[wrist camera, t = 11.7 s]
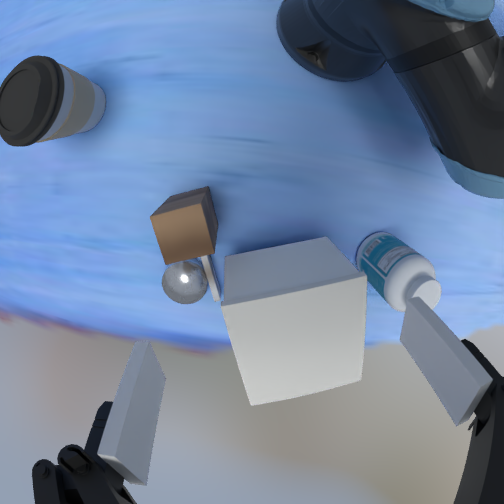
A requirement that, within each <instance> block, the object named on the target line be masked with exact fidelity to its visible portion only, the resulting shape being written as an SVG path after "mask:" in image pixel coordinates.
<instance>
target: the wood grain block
mask: <svg viewBox="0 0 504 504" xmlns="http://www.w3.org/2000/svg"><path fill="white" fill-rule="evenodd" d="M150 219H151V222H152V225H153V229H154V232H155V235H156V238H157V241H158V244H159V247H160V250H161V253H162V255H163V258H164V261H165V264H166V265H168V264H172V263H176V262H180V261H185V260H189V259H193V258H197V257H201V260H202V263H203V266H204V270H205V273H206V276H207V279H208V282H209V285H210V289H211V292H212V295H213V298H214V301H215V302H216V301H220V300H221V290H220V287H219V283H218V280H217V277H216V273H215V270H214V267H213V263H212V260H211V257H210V254H215V246H216V237H217V229H218V222H217V218H216V214H215V210H214V206H213V202H212V199H211V195H210V191H209V187H204V188H200V189H196V190H192V191H188V192H184V193H181V194H177V195H173V196H170V197H169V198H168V199H167V200H166V201H165V202H164V203H163V204H162V205H161V206H160V207H159V208H158V209H157V210H156V211H155V212H154V213H153V214H152V215H151V216H150Z"/></svg>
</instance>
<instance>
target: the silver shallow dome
mask: <svg viewBox="0 0 504 504" xmlns="http://www.w3.org/2000/svg"><path fill="white" fill-rule="evenodd" d="M207 283H208V279H207V276H206V273H205V270H204V266H203V264H202V263H201V262H200V261H198V260H197V259H195V258H193V259H189V260H185V261H180V262H176V263H172V264H168V266H167V268H166V270H165V273H164V275H163V278H162V287H163V289H164V292H165V293H166V295H167V296H168V297H169V298H170V299H172V300H173V301H175V302H178V303H181V304H191V303H195V302H197V301H199V300H200V299H201V298H202V297H203V296H204V294H205V293H206V289H207Z"/></svg>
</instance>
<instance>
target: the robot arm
mask: <svg viewBox="0 0 504 504" xmlns="http://www.w3.org/2000/svg"><path fill="white" fill-rule="evenodd" d="M493 9H494V0H283V2H282V4H281V6H280V9H279V11H278V14H277V31H278V35H279V38H280V40H281V42H282V44H283V46H284V48H285V49H286V51H287V52H288V53H289V54H290V56H291V57H292V58H293V59H294V60H295V61H296V62H297V63H299V64H300V65H301V66H303V67H304V68H305V69H307V70H308V71H310V72H312V73H314V74H316V75H318V76H321V77H324V78H327V79H331V80H336V81H353V80H358V79H361V78H363V77H366V76H369V75H371V74H373V73H375V72H376V71H377V70H379V69H380V68H381V67H382V66H383V65H384V64H385V62H386V61H387V62H388V63H389V65H390V66H391V68H392V69H393V71H394V73H395V75H396V76H397V78H398V79H399V81H400V83H401V84H402V86H403V87H404V89H405V91H406V92H407V94H408V96H409V97H410V99H411V101H412V103H413V104H414V106H415V108H416V110H417V112H418V114H419V115H420V117H421V119H422V121H423V123H424V125H425V127H426V130H427V132H428V134H429V136H430V140H431V143H432V146H433V148H434V149H435V151H436V152H437V153H438V154H439V156H440V158H441V160H442V162H443V164H444V166H445V168H446V170H447V172H448V174H449V175H450V177H451V178H452V179H453V180H454V181H455V182H456V183H457V184H459V185H461V186H462V187H463V188H464V189H465V190H467V191H469V192H471V193H474V194H476V195H480V196H483V197H488V198H497V199H504V36H502V37H499V36H498V34H497V33H496V31H495V29H494V27H493V26H492V24H491V22H490V20H489V19H488V17H489V16H490V14H491V13H492V11H493ZM400 341H401V342H402V344H403V345H404V347H405V348H406V349H407V351H408V352H409V354H410V355H411V356H412V358H413V359H414V361H415V363H416V364H417V365H418V367H419V368H420V370H421V371H422V373H423V374H424V376H425V377H426V379H427V380H428V382H429V384H430V385H431V387H432V388H433V389H434V391H435V393H436V394H437V396H438V397H439V399H440V401H441V402H442V404H443V405H444V407H445V409H446V410H447V412H448V414H449V415H450V417H451V418H452V420H453V422H454V423H455V425H456V426H458V425H460V424H461V423H463V422H465V421H467V420H468V419H469V418H470V416H471V415H472V414H473V412H474V413H475V414H476V417H475V419H474V420H473V422H472V423H471V424H470V426H469V428H468V430H470V429H471V428H472V426H473V431H472V437H471V442H470V447H469V451H468V456H467V460H466V464H465V468H464V472H463V475H462V479H461V482H460V485H459V489H458V492H457V495H456V498H455V501H454V504H504V377H502V376H501V375H500V374H499V373H498V372H497V370H496V369H495V368H494V367H493V366H492V365H491V363H490V362H489V361H488V360H487V359H486V358H485V357H484V355H483V354H482V353H481V352H480V351H479V349H478V348H477V347H476V346H475V345H474V344H473V343H471V342H470V341H468V340H466V339H464V340H461V341H460V340H459V339H458V338H457V336H456V335H455V334H454V333H453V332H452V331H451V330H450V329H449V328H448V326H447V325H446V324H445V323H444V322H443V321H442V320H441V319H440V318H439V317H438V316H437V315H436V314H435V313H434V311H433V310H432V309H431V308H430V307H429V306H428V305H427V304H426V303H425V302H424V301H423V300H422V299H421V298H420V297H419V296H418V297H414V298H410V299H407V304H406V310H405V315H404V321H403V326H402V331H401V336H400ZM165 381H166V377H165V375H164V373H163V371H162V369H161V366H160V364H159V362H158V360H157V358H156V355H155V353H154V351H153V348H152V346H151V344H150V341H138V342H135V345H134V347H133V350H132V353H131V355H130V357H129V360H128V363H127V365H126V368H125V371H124V374H123V377H122V379H121V382H120V385H119V388H118V390H117V393H116V396H115V399H114V402H108V401H105V402H104V403H103V404H102V405H101V406H100V408H99V409H98V411H97V414H96V417H95V420H94V423H93V425H92V426H93V427H92V428H91V431H90V434H89V437H88V440H87V443H86V446H85V449H84V450H83V449H82V448H81V447H80V446H78V445H74V444H71V445H68V446H65V447H64V448H63V449H61V451H60V452H59V454H58V458H57V459H58V464H59V465H54V464H53V463H52V462H51V461H49V460H46V459H42V460H39V461H38V462H37V463H35V465H34V467H33V469H32V478H33V490H34V499H35V504H137V503H136V502H135V501H134V499H133V498H132V496H131V495H130V493H129V492H128V490H127V489H126V487H125V486H124V485H123V482H124V479H125V480H127V481H128V482H129V483H131V484H138V485H147V479H148V473H149V466H150V460H151V454H152V448H153V443H154V437H155V431H156V425H157V421H158V416H159V410H160V405H161V400H162V395H163V390H164V386H165Z"/></svg>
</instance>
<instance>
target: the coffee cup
mask: <svg viewBox="0 0 504 504" xmlns="http://www.w3.org/2000/svg"><path fill="white" fill-rule="evenodd" d="M105 106H106V98H105V94H104V92H103V90H102V89H101V87H99V86H98V85H96V84H95V83H93V82H91V81H89V80H88V79H87V78H86V77H84V76H82V75H81V74H79V73H77V72H75V71H73V70H71V69H69V68H68V67H66V66H64V65H62V64H59V63H57V62H56V61H55V60H54V59H52V58H50V57H46V56H32V57H29V58H27V59H25V60H23V61H22V62H21V63H19V64H18V65H17V66H16V67H15V68H14V69H13V70H12V71H11V72H10V73H9V74H8V76H7V77H6V78H5V80H4V81H3V83H2V85H1V87H0V135H1V137H2V138H3V140H4V141H5V142H6V143H8V144H9V145H12V146H28V145H31V144H34V143H35V142H44V141H48V140H52V139H57V138H62V137H67V136H71V135H73V134H76V133H82V132H86V131H89V130H91V129H92V128H94V127H95V126H96V125H97V124H98V122H99V121H100V120H101V118H102V116H103V114H104V111H105Z"/></svg>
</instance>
